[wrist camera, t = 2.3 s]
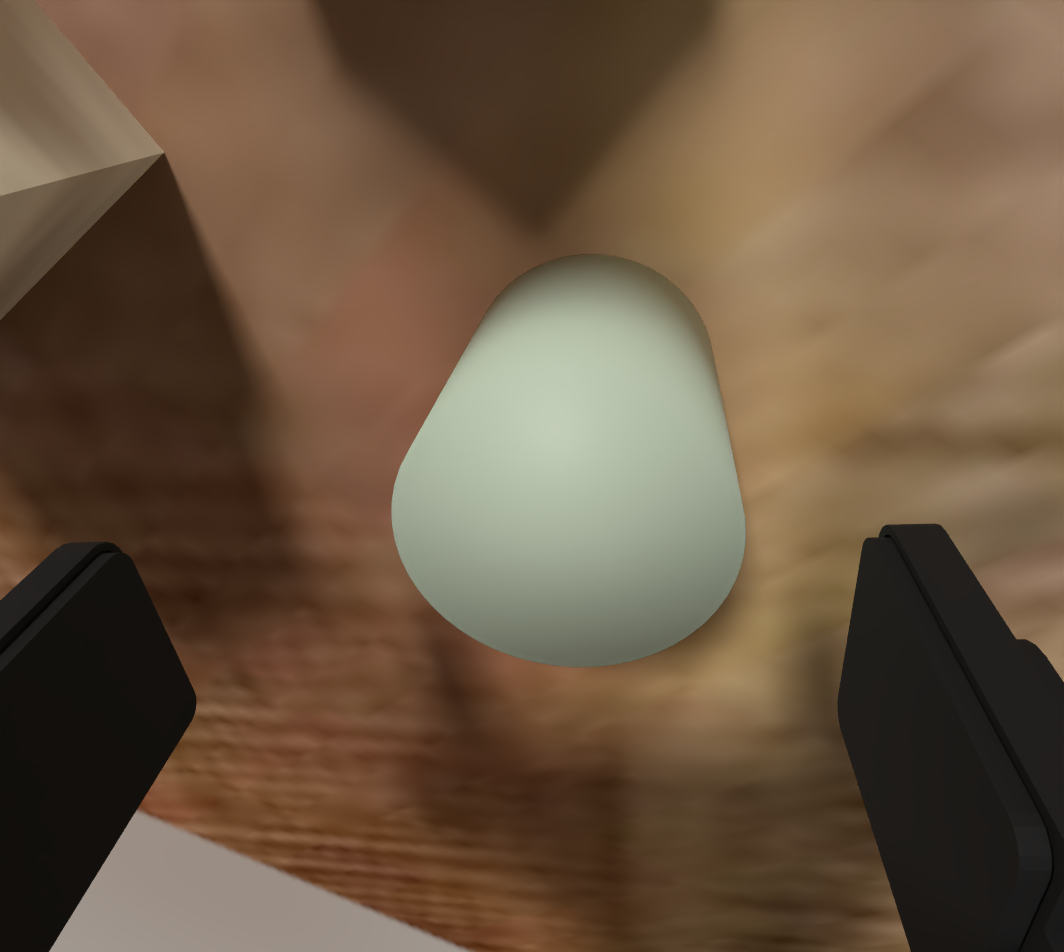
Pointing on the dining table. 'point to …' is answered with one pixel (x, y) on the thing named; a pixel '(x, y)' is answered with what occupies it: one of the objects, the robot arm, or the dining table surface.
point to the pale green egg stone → (576, 472)
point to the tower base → (55, 148)
